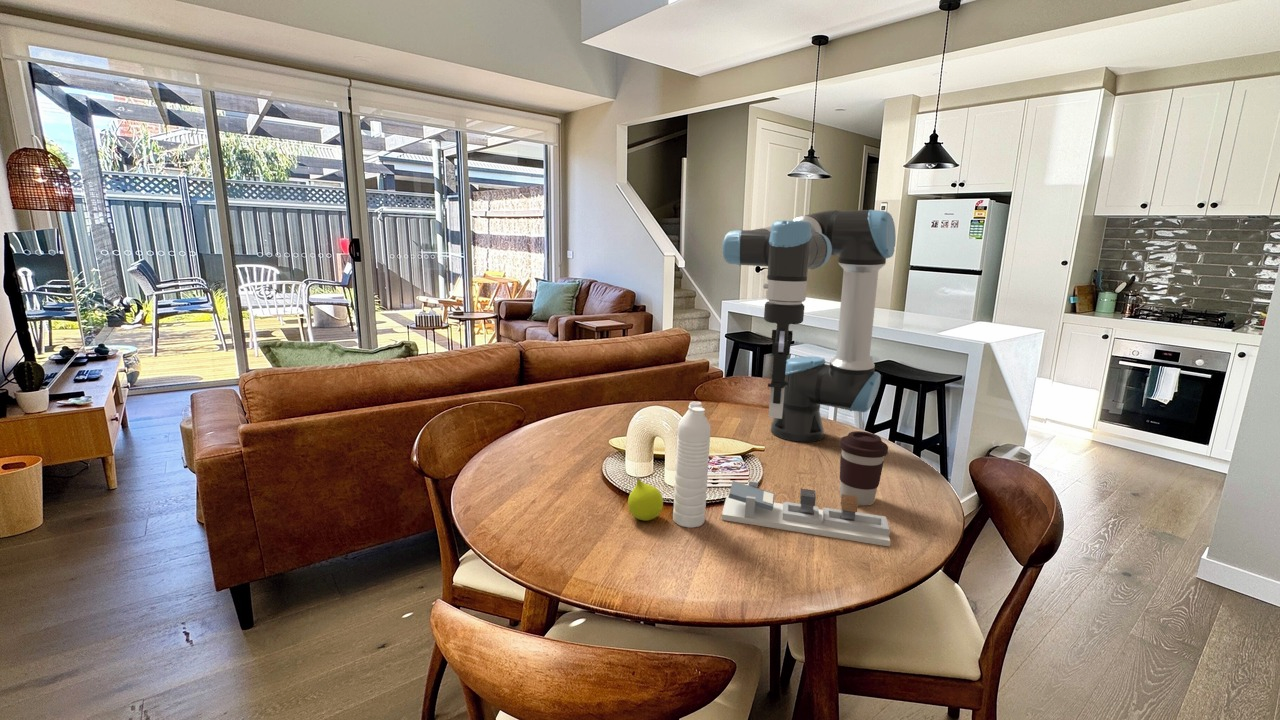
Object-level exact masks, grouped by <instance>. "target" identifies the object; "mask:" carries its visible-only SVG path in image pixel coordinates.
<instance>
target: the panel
mask: <svg viewBox="0 0 1280 720" xmlns="http://www.w3.org/2000/svg"><path fill="white" fill-rule="evenodd" d="M748 482H749V483H748V485H749V486H752V487H756V488H759V480H751V479H749V481H748ZM728 497H729V495H726V497H725V500H724V505H723V509H722V511H721V520H722V521H729V522H734V523H740V524H747V525H752V526H759V527H764V528H770V529H778V530H783V531H790V532H797V533H802V534H808V535H815V536H822V537H826V538H827V537H828V538H832V539H833V538H834V539H840V540H845V541H852V542H859V543H865V544H873V545H877V546H885V547H888V548H889V547H890V545H891V538H890V531H891V530H890V526H889V523H888V520H887V517H886V516H885V515H884V516H883V515H876V514H871V513H864V512H858V511H857V512H855V520H854V521H849V520H842V519H840V515H841V509H835V508H830V507H822V508H821V509H820V508H819V506H816V505H815V506H814V507H813V515H809V514H803V513H800V505H801V504H800V503H796V502H790V501H789V502H788V501H783V503H779V502H774V505H773V510H772V511H771V510H767V509H764V508H761V507H758V506H755V498H756V497H751V496H746V503H744V502H741V501H738V500H735V499H731V498H728Z"/></svg>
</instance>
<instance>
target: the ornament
mask: <svg viewBox="0 0 1280 720" xmlns="http://www.w3.org/2000/svg"><path fill="white" fill-rule="evenodd" d="M636 473H637V472H636V471H635V474H636ZM635 479H636V485H635V486H634V487H633V489H632V491H630V494H629V496H628V498H627V499H628V500H627V505H628V509H629V511H630V513H631V515H632V516H634V517H635V519H637V520H640V521H644V522H645V521H651V520H654V519H656V518H657V517H658V516H659V515H660V514H661V512H662V510H663V507H664V499H663V498H664V497H663V495H662V493H661V492H660V490H659V489H658V488H657V487H656V486H653V485H651V484H647V483H644V482H642V480H641V479H640V476H639V475H636V477H635Z"/></svg>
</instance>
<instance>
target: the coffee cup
mask: <svg viewBox="0 0 1280 720" xmlns="http://www.w3.org/2000/svg"><path fill="white" fill-rule="evenodd" d="M839 448H840V449H841V453H840V457H839V458H840V463H839V480H840V484H839V485H840V487H839V496H840V498H841V495H842V494H844V495H851V496H856V497H857V501H858V507H859V506H861V507H864V506H866V507H867V506H871V505H872V504H874V503H875V499H876V494H877V489H878V487H879V485H880V480H881V476H882V473H883V467H884V457H886V456H887V455H888V451H889V445H888V444H887V443H885V442H883V440H882V438H881V437H880V436H879V435H877V434H874V433H873V432H867V431H861V430H860V431H859V430H856V431H850V432H849V433H848V434H847V435H845V436H842V437H840V438H839Z"/></svg>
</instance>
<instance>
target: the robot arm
mask: <svg viewBox="0 0 1280 720" xmlns="http://www.w3.org/2000/svg"><path fill="white" fill-rule="evenodd" d="M896 237H897V236H896V225H895V221H894V219H893V216H892V214H891V213H890V212H888V211H886V210H877V209H868V210H867V209H862V210H861V209H859V210H857V209H856V210H852V209H851V210H850V209H849V210H848V209H847V210H843V209H842V210H837V209H832V210H831V209H830V210H822V211H818V212H815V213H811V214H806V215H805V214H804V215H802V216H798V217H795V218H794V219H792V220H786V219H785V220H775V221H774V222H773V223H771V226H766V227H760V228H756V229H751V230H749V229H747V230H746V229H737V230H735V229H734V230H730V231H728V232H727V233H726V234H725V236H724V238H723V241H722V255H723V260H725V261H724V262H726V263H728V264H730V265H735V266H736V265H738V266H739V267H741V266H749V267H750V266H751V267H767V275H766V278H767V280H766V282H767V283H764V284H763V286H762V288H763V289H765V290H766V291H765V299H766V300H767V301H766V302H765V304H764V313H763V320H764V321H765V322H768V323H771V324H776V329H772V330H771V341H772V345H771V354H772V355H773V362H772V363H773V364H772V365H773V366H772V374H771V380H770V383H769V382H767V388H770V391H769V392H770V393H769V394H770V395H769V404H768V405H769V406H768V418H771V419H772V422H771V425H770V432H771V433H772V435H774V436H776V437H778V438H781V439H784V440H788V441H792V442H800V443H811V442H817V441H818V442H819V441H820V440H822V439H824V431H825V430H824V425H823V420H822V416H821V405H822V406H827V407H830V408H831V407H833V408H836V409H841V410H846V411H849V412H856V413H857V412H859V413H866V412H868V411H869V410H870V409H871V408H872V406H873V405H874V403H875V399H876V397H877V395H878V392H879V388H880V385H881V377H882V375H881V374H880V372H878V371H875V368H876V367H875V365H876V364H875V363H874V361H872V359H871V358H870V355H871V345H872V336H873V330H874V329H873V327H874V318H875V309H876V298H877V287H878V280H879V279H878V278H879V272H880V270H881V269H882V268H883V267H884V266H885V265H886V264H887V263H886V262H887V259H890V258H892V257H893V256H894V253H895V247H896V243H897V242H896ZM831 256H838V261H837V262H838V265H839V266H840V267H841V269H843V272H842V273H843V275H842V287H841V297H840V306H839V307H840V308H839V310H840V311H839V320H838V333H837V345H836V355H835V356H834V357H833V358H831V360H830V361H829V364H826V360H825V358H824V357H820V356H797V357H791V358H788V356H789V355H790V353H791V352H790V351H791V343H792V342H793V334H794V333H793V330H789V328H790V325H799V324H802V323H803V322H804V316H805V305H804V304H803V302H805V301H806V297H807V287H808V272H809V270H815V269H818V268H820V267H823V266H824V265H825V264H827V262H828V261H829V260H830V258H831Z"/></svg>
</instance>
